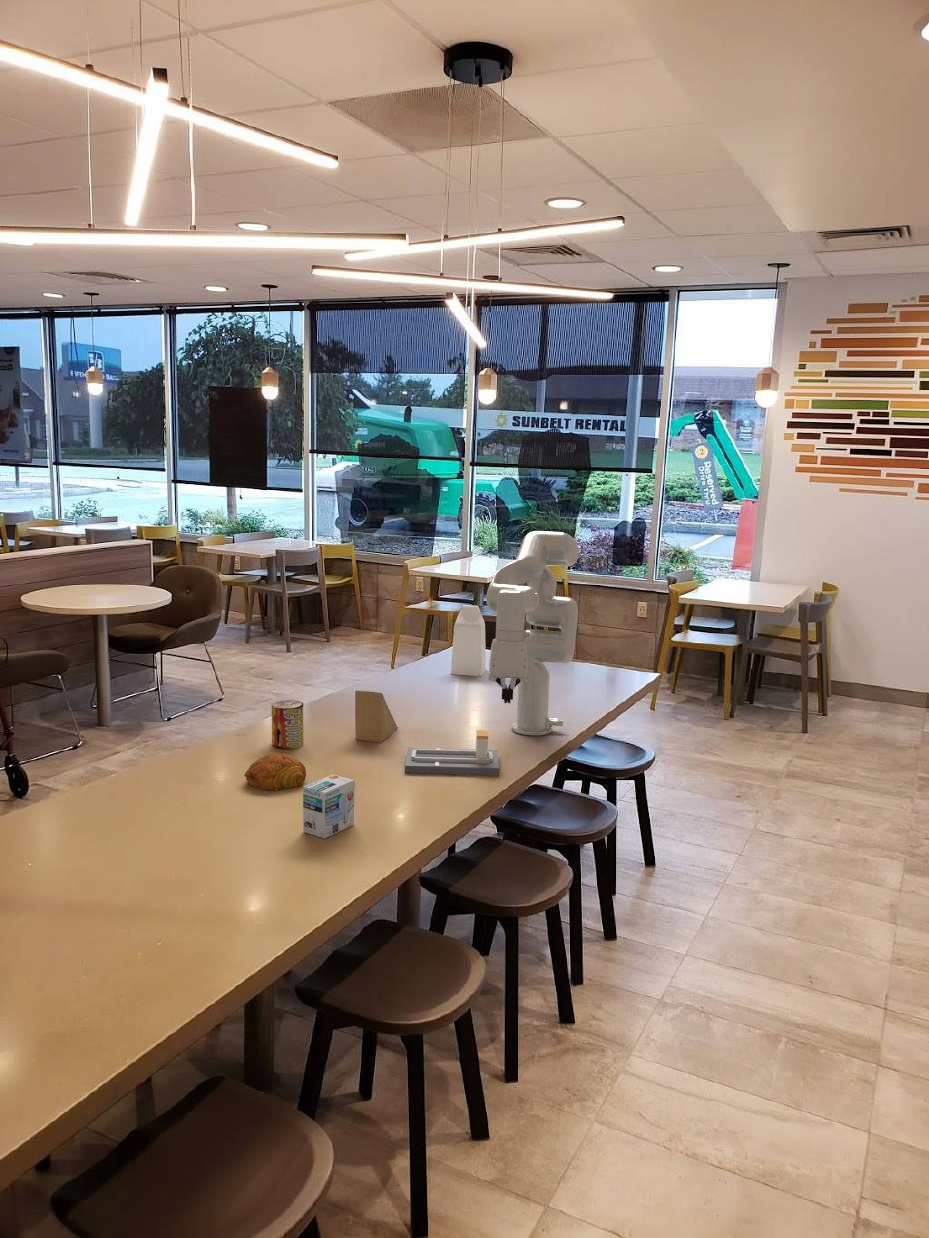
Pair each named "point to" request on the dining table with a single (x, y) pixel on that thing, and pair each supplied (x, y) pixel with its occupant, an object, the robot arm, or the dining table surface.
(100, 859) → the dining table surface
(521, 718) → the robot arm
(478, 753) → the fader knob
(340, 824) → the light bulb box
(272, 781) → the croissant
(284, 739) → the beverage can
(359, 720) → the sandwich container
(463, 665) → the white tall block
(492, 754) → the board
